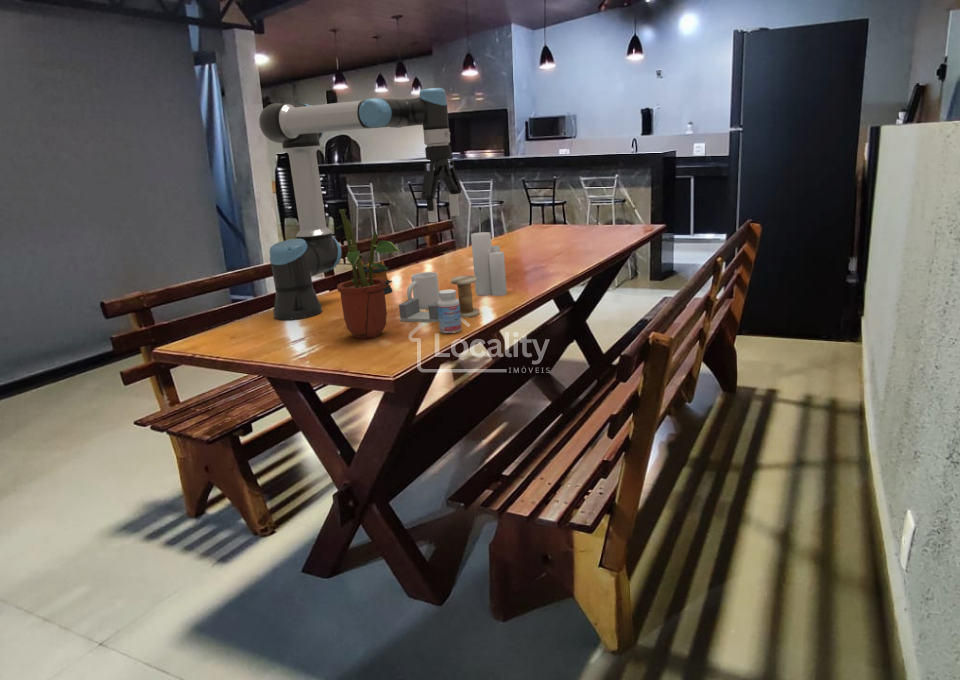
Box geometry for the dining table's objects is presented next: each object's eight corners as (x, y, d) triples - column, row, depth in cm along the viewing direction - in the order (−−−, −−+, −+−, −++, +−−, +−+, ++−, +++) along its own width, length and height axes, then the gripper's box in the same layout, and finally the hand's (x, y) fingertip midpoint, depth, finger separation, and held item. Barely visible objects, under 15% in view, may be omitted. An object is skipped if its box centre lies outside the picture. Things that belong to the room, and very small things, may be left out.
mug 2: (398, 290, 241) (395, 258, 238) (381, 296, 233) (377, 264, 230) (370, 288, 248) (366, 257, 244) (352, 295, 239) (348, 263, 236)
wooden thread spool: (449, 317, 199) (446, 280, 195) (460, 310, 205) (457, 275, 202) (473, 318, 196) (470, 281, 192) (483, 311, 202) (480, 275, 199)
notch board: (400, 321, 199) (398, 304, 197) (413, 314, 206) (412, 298, 204) (436, 322, 194) (434, 306, 192) (448, 315, 201) (447, 299, 199)
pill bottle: (447, 335, 180) (443, 294, 177) (435, 331, 185) (431, 291, 182) (466, 330, 184) (462, 290, 180) (454, 326, 188) (450, 287, 185)
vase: (472, 295, 224) (467, 235, 219) (481, 290, 231) (476, 232, 225) (503, 296, 220) (499, 235, 214) (511, 291, 226) (507, 231, 220)
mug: (418, 313, 206) (414, 280, 203) (400, 310, 211) (396, 278, 208) (445, 304, 214) (442, 273, 211) (427, 302, 220) (424, 271, 217)
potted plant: (346, 345, 179) (328, 212, 168) (341, 331, 193) (323, 208, 183) (411, 335, 183) (396, 205, 173) (401, 322, 197) (387, 201, 187)
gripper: (427, 146, 182) (435, 224, 188) (468, 142, 203) (474, 213, 209) (404, 148, 185) (412, 225, 191) (446, 144, 207) (452, 213, 213)
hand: (444, 218), depth 200 cm, fingers open, 13 cm apart
